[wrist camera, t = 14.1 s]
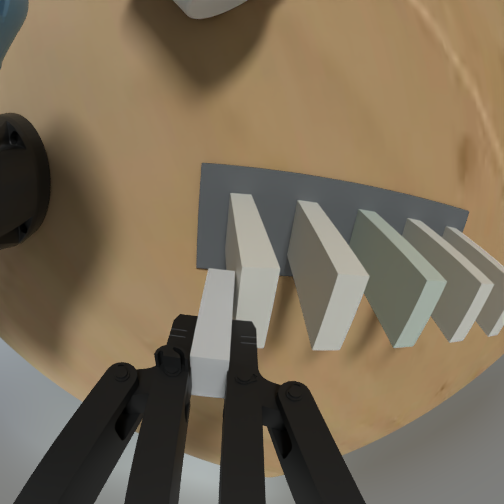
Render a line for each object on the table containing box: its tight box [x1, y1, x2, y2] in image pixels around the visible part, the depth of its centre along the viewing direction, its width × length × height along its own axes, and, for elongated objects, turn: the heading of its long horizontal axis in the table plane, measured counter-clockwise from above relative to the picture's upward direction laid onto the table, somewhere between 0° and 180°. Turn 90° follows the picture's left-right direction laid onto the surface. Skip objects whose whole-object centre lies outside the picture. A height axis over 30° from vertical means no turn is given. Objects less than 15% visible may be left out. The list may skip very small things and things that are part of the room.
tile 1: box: [225, 193, 280, 348], centre depth 20 cm, size 2×5×12 cm, turn 173°
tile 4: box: [402, 218, 494, 343], centre depth 21 cm, size 2×5×12 cm, turn 173°
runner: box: [196, 163, 469, 276], centre depth 26 cm, size 29×10×1 cm, turn 83°
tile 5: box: [442, 226, 504, 337], centre depth 21 cm, size 2×5×12 cm, turn 173°
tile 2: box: [287, 200, 370, 350], centre depth 20 cm, size 2×5×12 cm, turn 173°
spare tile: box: [349, 209, 447, 348], centre depth 20 cm, size 2×5×12 cm, turn 173°
